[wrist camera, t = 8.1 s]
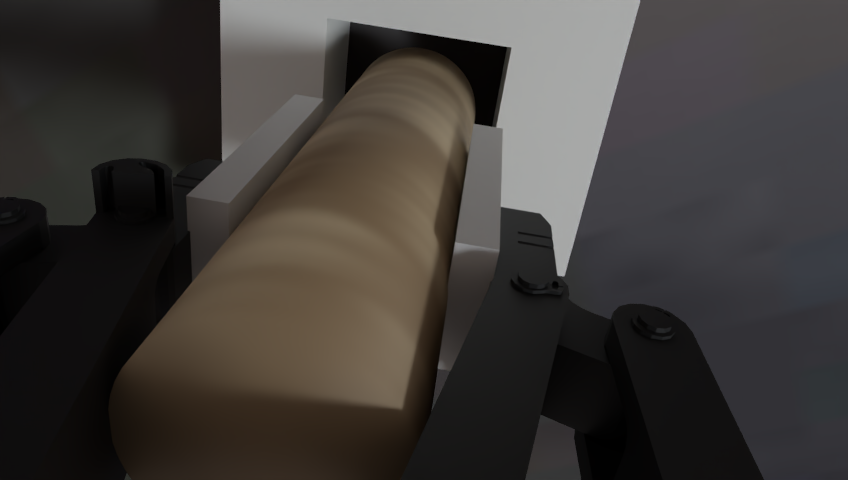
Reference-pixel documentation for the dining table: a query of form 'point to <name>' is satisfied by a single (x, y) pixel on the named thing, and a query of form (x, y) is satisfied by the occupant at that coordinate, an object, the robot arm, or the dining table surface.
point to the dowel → (316, 302)
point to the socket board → (460, 19)
